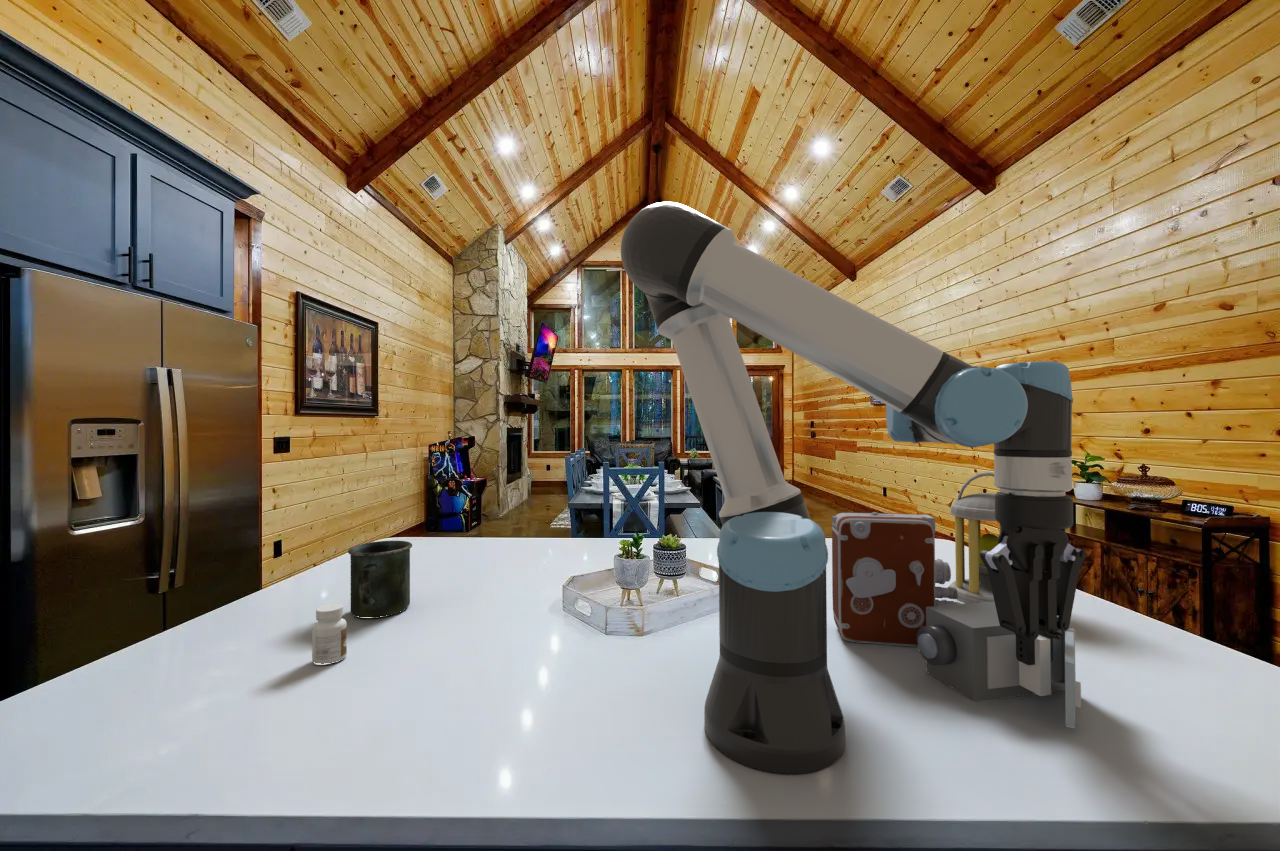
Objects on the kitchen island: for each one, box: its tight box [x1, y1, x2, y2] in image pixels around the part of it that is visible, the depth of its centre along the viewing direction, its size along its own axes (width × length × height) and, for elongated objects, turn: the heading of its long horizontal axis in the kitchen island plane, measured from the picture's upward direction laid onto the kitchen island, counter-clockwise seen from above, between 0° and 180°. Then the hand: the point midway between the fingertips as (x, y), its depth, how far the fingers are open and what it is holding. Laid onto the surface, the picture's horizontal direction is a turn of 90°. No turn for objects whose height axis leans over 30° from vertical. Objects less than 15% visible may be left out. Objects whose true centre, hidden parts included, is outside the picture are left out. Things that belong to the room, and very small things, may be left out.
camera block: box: [917, 601, 1065, 702], centre depth 70 cm, size 16×8×10 cm, turn 101°
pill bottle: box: [311, 603, 348, 664], centre depth 77 cm, size 4×4×8 cm
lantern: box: [948, 471, 1001, 604], centre depth 104 cm, size 14×14×25 cm
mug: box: [347, 540, 413, 617], centre depth 97 cm, size 11×15×12 cm
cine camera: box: [831, 511, 965, 648], centre depth 84 cm, size 9×19×20 cm, turn 78°
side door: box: [1064, 627, 1082, 729], centre depth 62 cm, size 13×1×7 cm, turn 141°
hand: (1034, 689), depth 63 cm, fingers closed
